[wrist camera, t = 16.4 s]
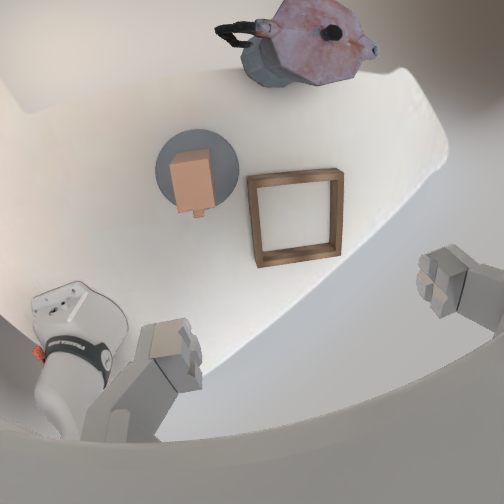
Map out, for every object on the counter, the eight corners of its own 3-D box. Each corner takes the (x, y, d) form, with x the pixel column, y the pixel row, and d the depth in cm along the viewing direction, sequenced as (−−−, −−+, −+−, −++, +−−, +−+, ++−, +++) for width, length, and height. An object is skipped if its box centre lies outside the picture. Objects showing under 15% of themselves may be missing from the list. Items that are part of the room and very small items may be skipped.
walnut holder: (255, 258, 49) (257, 268, 47) (246, 176, 42) (248, 181, 40) (334, 247, 50) (340, 255, 47) (336, 168, 43) (343, 172, 41)
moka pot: (323, 93, 37) (401, 95, 20) (215, 93, 36) (216, 83, 18) (322, 35, 33) (397, 0, 15) (213, 31, 31) (214, -25, 14)
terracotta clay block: (177, 153, 39) (169, 164, 32) (209, 148, 39) (208, 158, 32) (186, 202, 42) (180, 224, 35) (216, 198, 43) (216, 218, 36)
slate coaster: (164, 214, 43) (163, 216, 43) (150, 137, 38) (148, 138, 37) (242, 202, 44) (243, 204, 44) (233, 123, 38) (234, 124, 38)
